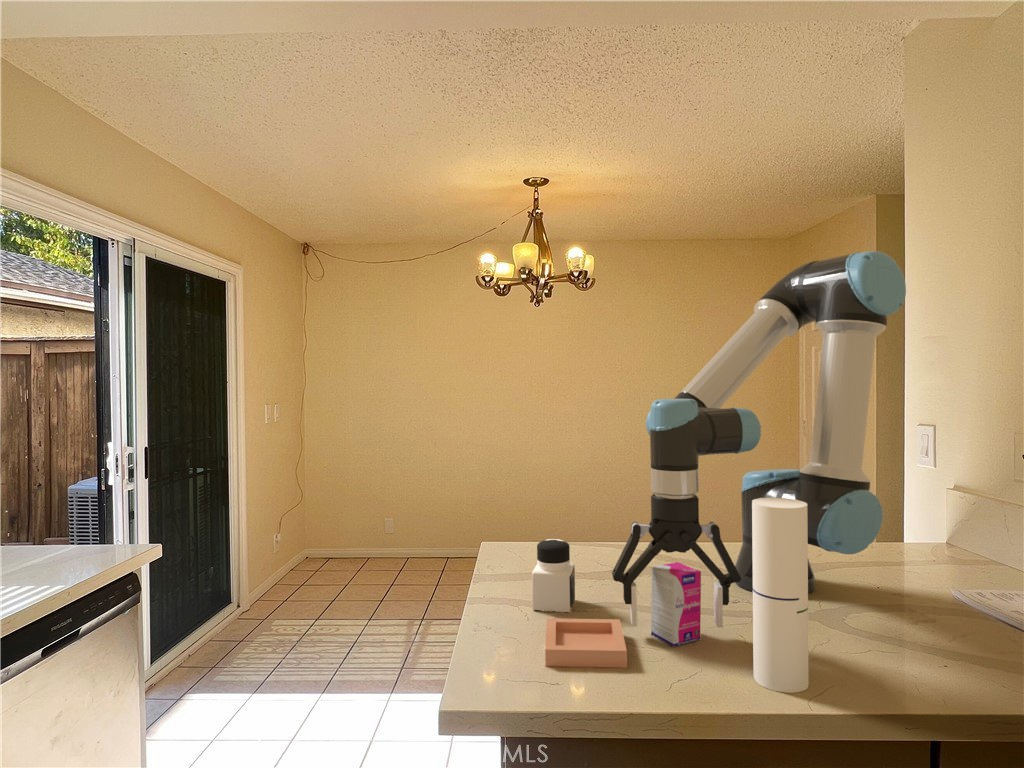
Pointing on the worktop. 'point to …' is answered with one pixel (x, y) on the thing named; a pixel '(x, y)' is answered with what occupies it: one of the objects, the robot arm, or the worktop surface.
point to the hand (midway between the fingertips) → (675, 623)
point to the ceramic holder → (585, 643)
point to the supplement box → (676, 603)
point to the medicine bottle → (553, 577)
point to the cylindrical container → (780, 594)
